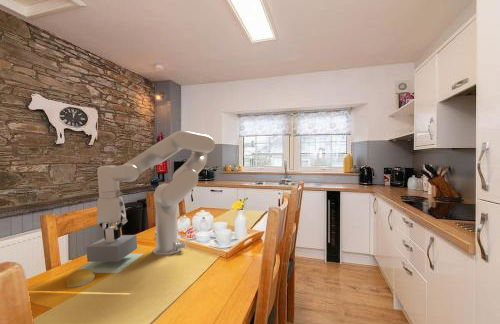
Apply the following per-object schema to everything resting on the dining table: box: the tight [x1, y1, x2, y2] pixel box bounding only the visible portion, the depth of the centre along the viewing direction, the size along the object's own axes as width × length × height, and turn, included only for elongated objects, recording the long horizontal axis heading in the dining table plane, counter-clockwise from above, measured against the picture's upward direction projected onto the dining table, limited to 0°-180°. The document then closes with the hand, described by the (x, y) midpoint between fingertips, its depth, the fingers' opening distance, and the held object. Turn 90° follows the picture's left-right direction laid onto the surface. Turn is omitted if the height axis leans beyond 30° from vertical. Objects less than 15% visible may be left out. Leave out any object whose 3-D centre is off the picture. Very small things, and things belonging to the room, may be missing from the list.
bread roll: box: [65, 268, 96, 288], centre depth 84 cm, size 8×9×4 cm
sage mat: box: [75, 253, 144, 274], centre depth 99 cm, size 18×18×1 cm
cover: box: [86, 225, 138, 263], centre depth 99 cm, size 13×13×12 cm
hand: (112, 238), depth 99 cm, fingers closed on cover, 3 cm apart
